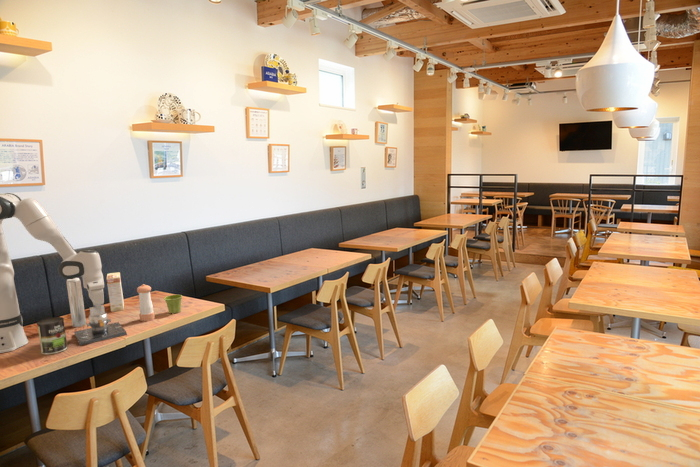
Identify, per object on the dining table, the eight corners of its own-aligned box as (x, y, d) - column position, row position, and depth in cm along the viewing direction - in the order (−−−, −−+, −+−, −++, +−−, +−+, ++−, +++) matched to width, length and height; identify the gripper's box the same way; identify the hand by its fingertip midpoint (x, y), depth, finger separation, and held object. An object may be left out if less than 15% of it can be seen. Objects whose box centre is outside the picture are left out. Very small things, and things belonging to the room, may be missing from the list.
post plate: (80, 345, 221) (78, 335, 220) (74, 334, 236) (73, 324, 235) (126, 334, 232) (125, 324, 231) (118, 324, 247) (117, 315, 247)
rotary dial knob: (85, 324, 234) (83, 307, 232) (109, 319, 240) (106, 302, 238) (90, 332, 223) (87, 314, 221) (114, 326, 229) (112, 309, 227)
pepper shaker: (154, 316, 259) (150, 281, 256) (154, 320, 253) (150, 285, 250) (140, 318, 257) (136, 283, 254) (139, 322, 250) (135, 286, 247)
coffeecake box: (111, 305, 284) (107, 273, 281) (124, 303, 287) (120, 271, 284) (110, 312, 270) (106, 278, 267) (124, 309, 273) (120, 276, 270)
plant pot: (178, 314, 260) (176, 299, 258) (162, 314, 261) (160, 299, 260) (186, 309, 269) (185, 294, 267) (171, 309, 270) (170, 294, 269)
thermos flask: (82, 327, 247) (75, 280, 243) (69, 327, 247) (63, 280, 243) (89, 322, 253) (83, 276, 249) (77, 323, 253) (70, 277, 249)
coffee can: (72, 347, 218) (68, 318, 216) (49, 356, 209) (44, 325, 207) (59, 344, 223) (55, 315, 221) (36, 352, 214) (31, 322, 212)
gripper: (83, 280, 237) (87, 306, 239) (89, 287, 220) (93, 316, 223) (97, 277, 240) (101, 304, 243) (104, 285, 224) (108, 313, 226)
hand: (97, 310), depth 233 cm, fingers open, 8 cm apart
